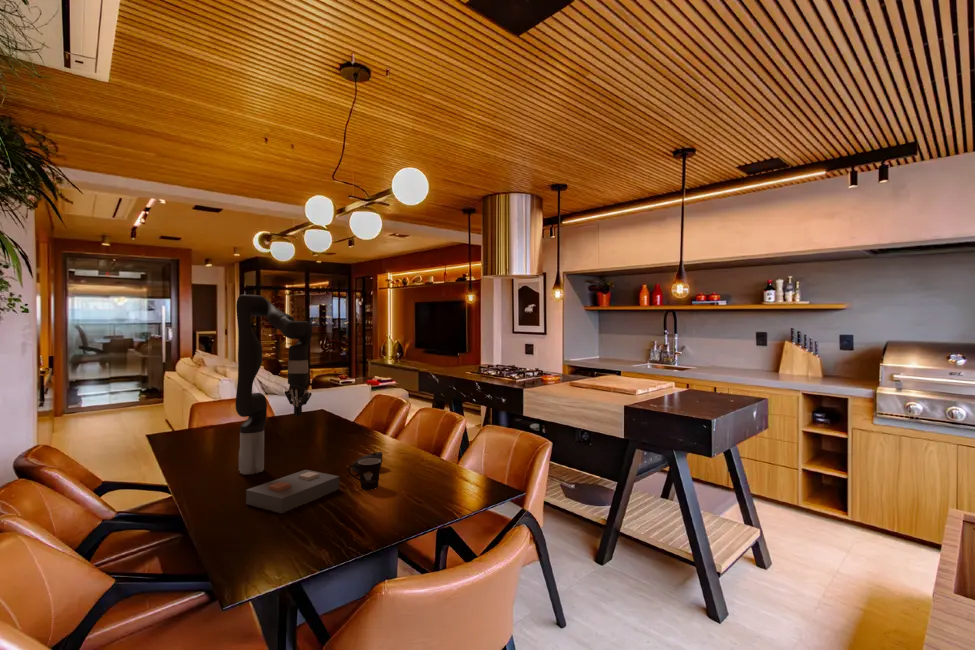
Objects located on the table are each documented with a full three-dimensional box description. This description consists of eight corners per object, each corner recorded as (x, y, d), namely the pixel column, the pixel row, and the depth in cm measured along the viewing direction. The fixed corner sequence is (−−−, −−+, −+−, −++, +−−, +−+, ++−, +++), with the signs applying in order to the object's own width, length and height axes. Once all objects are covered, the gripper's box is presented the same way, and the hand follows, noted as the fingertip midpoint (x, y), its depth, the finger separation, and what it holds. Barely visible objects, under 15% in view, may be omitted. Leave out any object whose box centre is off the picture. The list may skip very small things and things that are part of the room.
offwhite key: (298, 485, 177) (298, 475, 177) (309, 481, 181) (309, 471, 181) (308, 488, 174) (308, 477, 174) (318, 484, 179) (318, 473, 179)
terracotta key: (268, 497, 165) (268, 485, 165) (280, 492, 170) (280, 481, 170) (278, 499, 163) (278, 488, 163) (290, 494, 167) (290, 483, 167)
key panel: (246, 504, 165) (246, 489, 165) (305, 482, 188) (305, 469, 188) (281, 513, 156) (281, 498, 156) (339, 489, 179) (339, 476, 179)
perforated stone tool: (355, 476, 196) (355, 459, 196) (349, 473, 199) (349, 456, 199) (386, 468, 206) (386, 452, 206) (380, 465, 210) (380, 450, 210)
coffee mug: (385, 484, 185) (385, 459, 185) (372, 492, 176) (373, 465, 176) (359, 481, 188) (359, 456, 188) (346, 488, 180) (346, 462, 180)
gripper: (278, 371, 185) (278, 415, 185) (302, 373, 179) (302, 419, 179) (294, 370, 192) (293, 412, 192) (317, 371, 186) (317, 415, 186)
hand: (297, 415), depth 185 cm, fingers closed
